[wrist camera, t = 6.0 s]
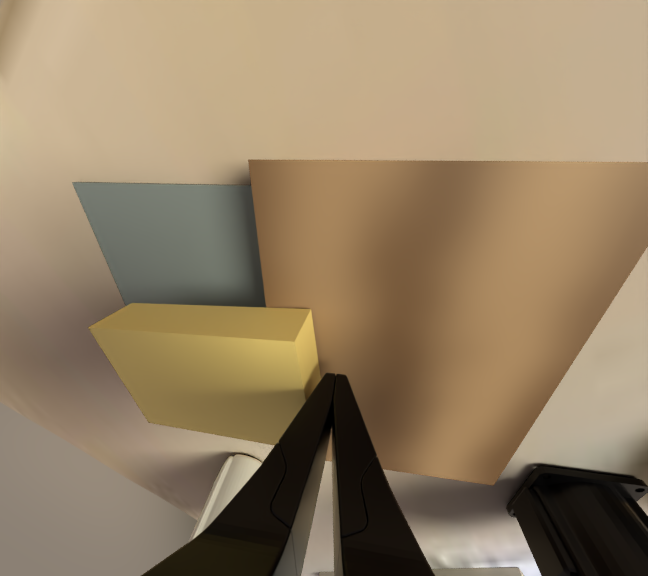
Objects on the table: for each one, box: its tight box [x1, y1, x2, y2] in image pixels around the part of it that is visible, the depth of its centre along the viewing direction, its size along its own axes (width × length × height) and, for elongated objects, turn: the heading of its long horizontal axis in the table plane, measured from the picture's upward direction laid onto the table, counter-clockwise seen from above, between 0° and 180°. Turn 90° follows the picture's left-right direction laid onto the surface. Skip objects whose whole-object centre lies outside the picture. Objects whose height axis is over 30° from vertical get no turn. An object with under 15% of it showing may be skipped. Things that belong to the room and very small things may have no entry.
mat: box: [72, 182, 266, 308], centre depth 14 cm, size 10×14×1 cm
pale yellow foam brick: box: [88, 303, 321, 445], centre depth 11 cm, size 9×6×2 cm, turn 96°
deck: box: [248, 160, 648, 486], centre depth 12 cm, size 12×16×3 cm
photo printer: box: [188, 454, 262, 542], centre depth 18 cm, size 10×4×12 cm, turn 159°
